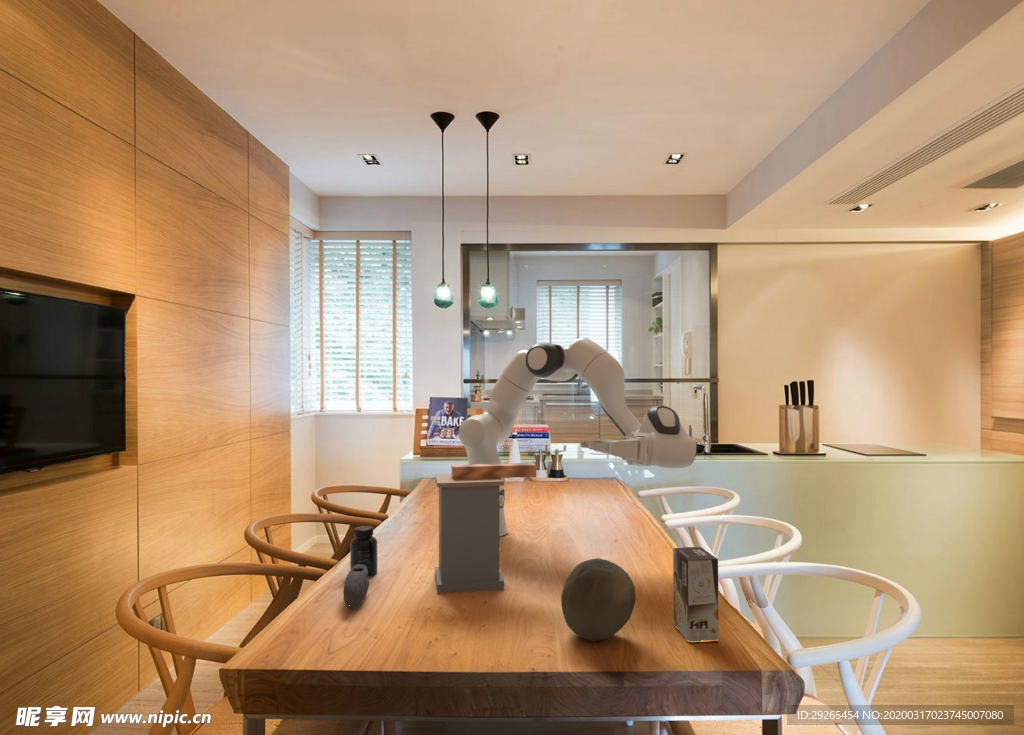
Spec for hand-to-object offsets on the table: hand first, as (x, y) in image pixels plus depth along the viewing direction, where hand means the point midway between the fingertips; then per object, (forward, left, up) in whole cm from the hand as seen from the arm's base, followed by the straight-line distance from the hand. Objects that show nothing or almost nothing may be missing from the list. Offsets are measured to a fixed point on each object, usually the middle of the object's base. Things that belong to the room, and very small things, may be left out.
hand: (584, 444), depth 164 cm
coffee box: (+37, -21, -34) cm, 54 cm away
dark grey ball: (+22, -34, -34) cm, 53 cm away
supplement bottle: (-46, -34, -34) cm, 67 cm away
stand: (-20, -23, -33) cm, 45 cm away
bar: (-16, -19, -7) cm, 26 cm away
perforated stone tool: (-32, -49, -34) cm, 68 cm away
